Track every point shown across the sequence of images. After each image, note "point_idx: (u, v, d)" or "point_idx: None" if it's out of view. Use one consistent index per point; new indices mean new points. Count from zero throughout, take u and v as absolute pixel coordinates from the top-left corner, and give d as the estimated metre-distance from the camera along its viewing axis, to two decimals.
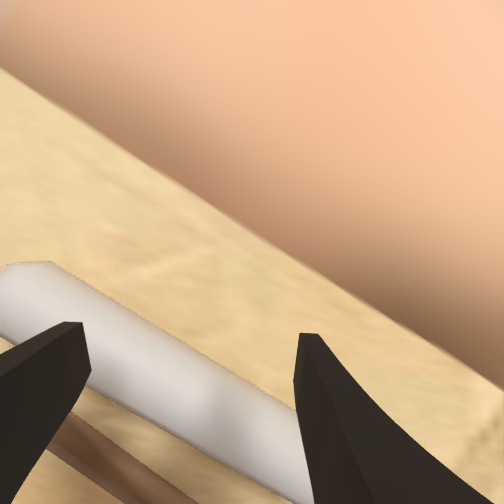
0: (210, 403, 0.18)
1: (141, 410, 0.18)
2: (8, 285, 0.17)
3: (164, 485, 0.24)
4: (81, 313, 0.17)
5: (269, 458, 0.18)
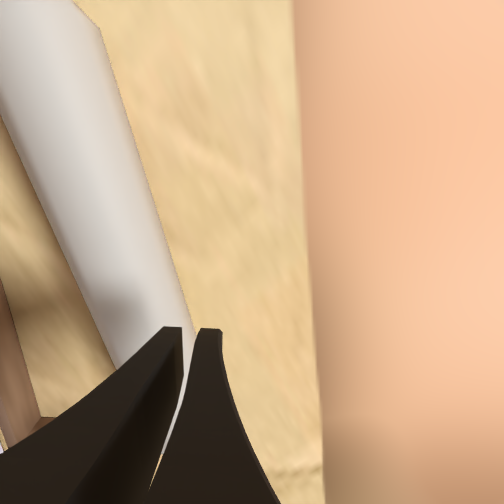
0: (152, 308, 0.16)
1: (81, 264, 0.14)
2: (39, 5, 0.11)
3: (8, 323, 0.20)
4: (98, 119, 0.13)
5: None
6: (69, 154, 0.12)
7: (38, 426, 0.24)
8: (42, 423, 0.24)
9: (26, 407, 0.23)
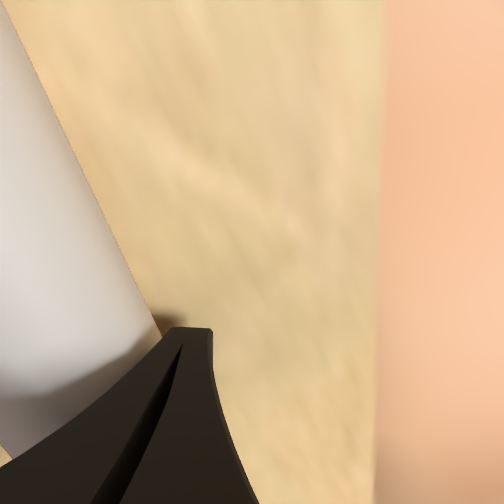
0: None
1: None
2: None
3: None
4: None
5: None
6: None
7: None
8: None
9: None
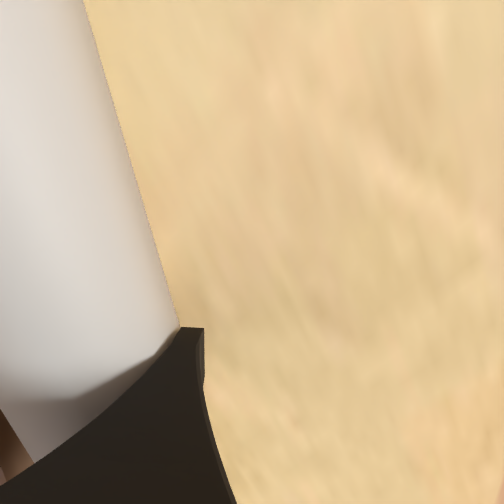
0: None
1: (31, 458, 0.07)
2: None
3: None
4: (64, 194, 0.06)
5: None
6: None
7: None
8: None
9: None
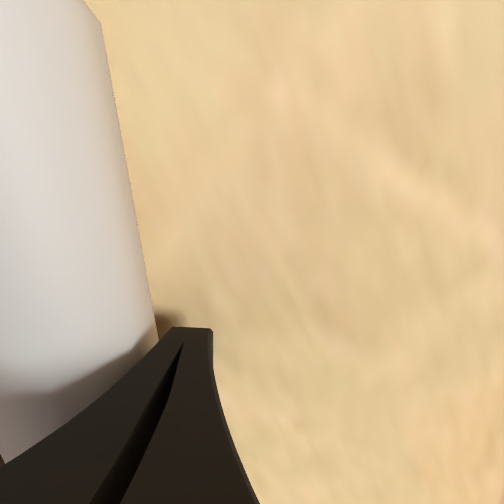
0: None
1: (2, 455, 0.08)
2: None
3: None
4: (70, 210, 0.06)
5: None
6: None
7: None
8: None
9: None
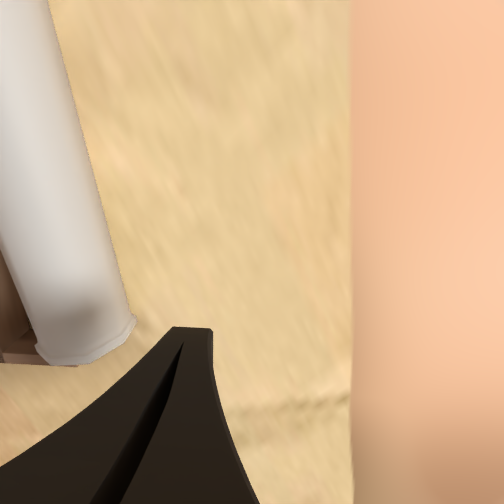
0: (41, 174, 0.13)
1: None
2: None
3: None
4: None
5: (52, 279, 0.15)
6: None
7: (26, 336, 0.20)
8: (31, 334, 0.21)
9: (11, 309, 0.19)
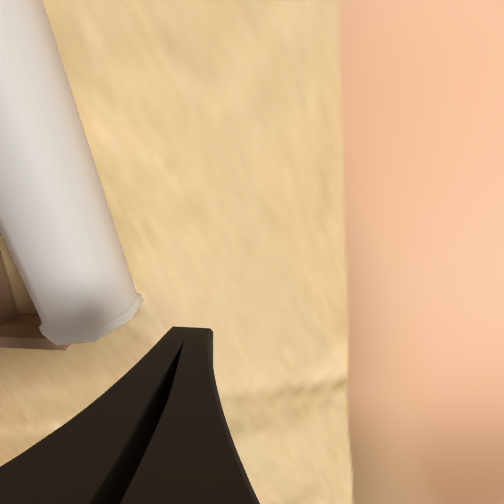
0: (33, 139, 0.13)
1: None
2: None
3: None
4: None
5: (51, 252, 0.14)
6: None
7: (13, 320, 0.20)
8: (18, 318, 0.20)
9: None
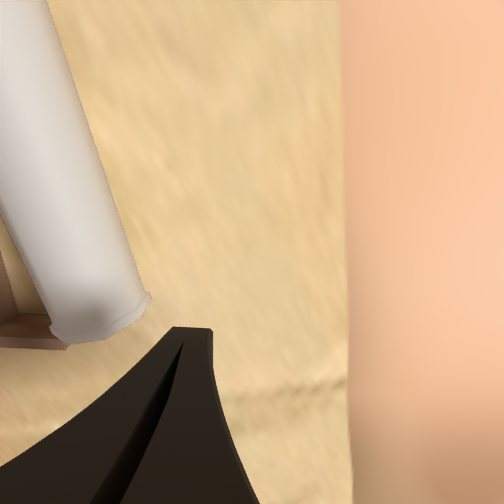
0: (39, 137, 0.13)
1: None
2: None
3: None
4: None
5: (60, 250, 0.14)
6: None
7: (13, 320, 0.20)
8: (18, 318, 0.20)
9: None
